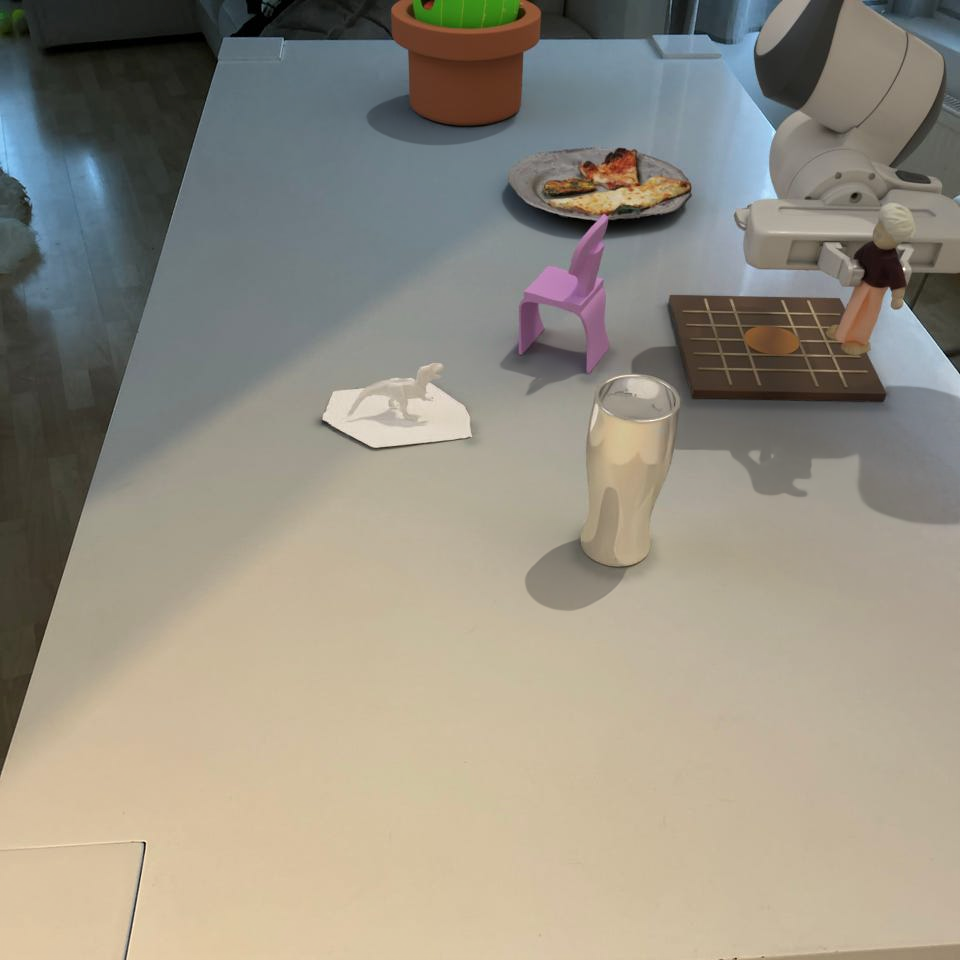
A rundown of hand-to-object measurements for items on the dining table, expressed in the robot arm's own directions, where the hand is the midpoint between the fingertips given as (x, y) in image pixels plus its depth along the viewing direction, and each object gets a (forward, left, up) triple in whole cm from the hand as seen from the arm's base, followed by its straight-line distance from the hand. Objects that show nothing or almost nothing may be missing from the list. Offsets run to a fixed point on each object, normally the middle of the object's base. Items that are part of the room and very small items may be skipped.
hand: (878, 279), depth 84 cm
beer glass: (+22, +16, -17) cm, 32 cm away
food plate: (+18, -56, -17) cm, 62 cm away
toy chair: (+25, -16, -17) cm, 34 cm away
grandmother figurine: (0, 0, -7) cm, 7 cm away
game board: (+2, -17, -17) cm, 24 cm away
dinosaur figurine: (+42, -3, -17) cm, 46 cm away
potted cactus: (+37, -89, -17) cm, 98 cm away
